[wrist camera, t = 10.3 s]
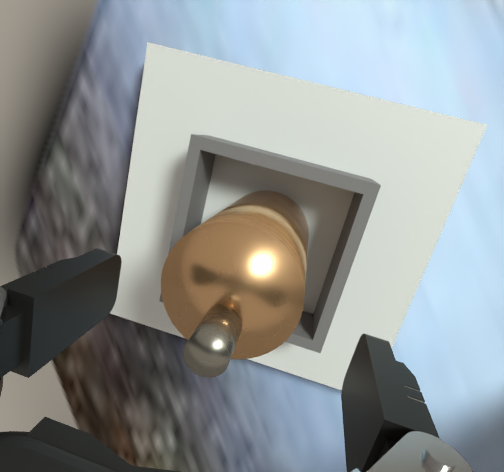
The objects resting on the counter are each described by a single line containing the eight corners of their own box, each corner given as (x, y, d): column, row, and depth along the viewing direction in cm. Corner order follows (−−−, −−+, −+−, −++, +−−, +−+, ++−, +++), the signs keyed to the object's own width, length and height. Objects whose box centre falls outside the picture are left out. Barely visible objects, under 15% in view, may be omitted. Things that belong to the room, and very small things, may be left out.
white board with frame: (470, 126, 19) (520, 121, 14) (365, 379, 24) (377, 437, 19) (163, 51, 21) (117, 24, 16) (123, 300, 26) (80, 335, 21)
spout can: (319, 203, 20) (324, 265, 9) (295, 283, 21) (276, 418, 10) (234, 180, 20) (146, 215, 10) (216, 260, 22) (122, 367, 11)
